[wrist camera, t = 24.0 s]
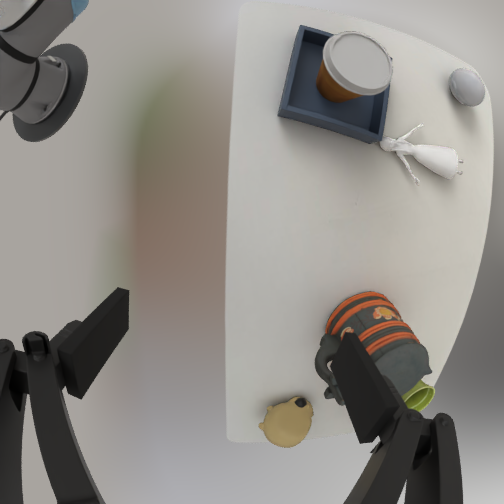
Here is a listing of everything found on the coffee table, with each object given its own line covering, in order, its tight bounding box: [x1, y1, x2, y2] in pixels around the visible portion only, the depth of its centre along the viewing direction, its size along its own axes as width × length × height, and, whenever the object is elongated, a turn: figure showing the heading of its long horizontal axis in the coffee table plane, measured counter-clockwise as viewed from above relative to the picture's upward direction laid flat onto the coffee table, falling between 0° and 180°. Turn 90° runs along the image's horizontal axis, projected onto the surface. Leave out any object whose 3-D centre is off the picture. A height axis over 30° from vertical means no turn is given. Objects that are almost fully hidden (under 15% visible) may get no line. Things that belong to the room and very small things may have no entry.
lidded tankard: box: [315, 291, 432, 406], centre depth 38 cm, size 19×15×20 cm
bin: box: [278, 25, 392, 144], centre depth 34 cm, size 16×16×5 cm
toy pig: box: [259, 397, 314, 448], centre depth 49 cm, size 10×12×11 cm
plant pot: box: [401, 380, 435, 412], centre depth 48 cm, size 9×9×9 cm
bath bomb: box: [449, 68, 485, 106], centre depth 31 cm, size 8×8×8 cm
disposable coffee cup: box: [316, 31, 393, 103], centre depth 30 cm, size 10×10×12 cm
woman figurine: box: [379, 123, 463, 185], centre depth 38 cm, size 12×4×18 cm
